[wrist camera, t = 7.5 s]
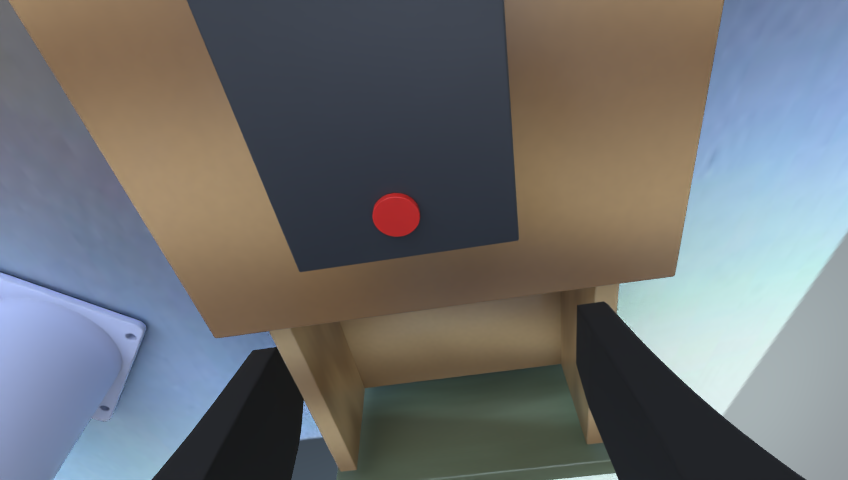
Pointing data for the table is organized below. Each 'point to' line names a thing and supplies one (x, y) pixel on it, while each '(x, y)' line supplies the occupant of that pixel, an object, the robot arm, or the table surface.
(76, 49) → the cabinet
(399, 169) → the remote
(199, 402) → the table surface
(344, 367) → the drawer
